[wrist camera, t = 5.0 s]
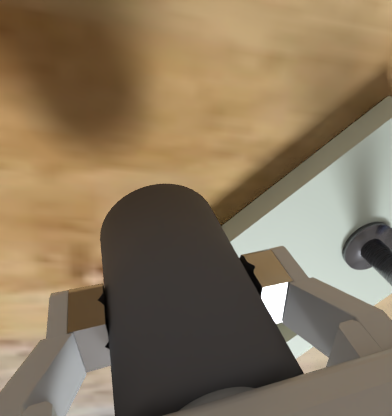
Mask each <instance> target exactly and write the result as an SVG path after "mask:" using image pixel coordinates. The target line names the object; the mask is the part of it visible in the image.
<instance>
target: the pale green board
mask: <svg viewBox="0 0 392 416" xmlns="http://www.w3.org/2000/svg"><path fill="white" fill-rule="evenodd" d="M371 222H383V223H386V224H387V225H388V226H390V227H391V228H392V97H391V96H387V97H386V98H385V99H383V100H382V101H381V102H380V103H378V104H377V105H376V106H374V107H373V108H372V109H371V110H369V111H368V112H367V113H365V114H364V115H363V116H362V117H360V118H359V119H358V120H357V121H355V122H354V123H353V124H351V125H350V126H349V127H348V128H346V129H345V130H344V131H342V132H341V133H340V134H339V135H337V136H336V137H335V138H333V139H332V140H331V141H330V142H328V143H327V144H326V145H325V146H323V147H322V148H321V149H319V150H318V151H317V152H316V153H314V154H313V155H312V156H310V157H309V158H308V159H307V160H305V161H304V162H303V163H301V164H300V165H299V166H298V167H296V168H295V169H294V170H293V171H291V172H290V173H289V174H287V175H286V176H285V177H284V178H282V179H281V180H280V181H278V182H277V183H276V184H275V185H273V186H272V187H271V188H269V189H268V190H267V191H266V192H264V193H263V194H262V195H261V196H259V197H258V198H257V199H255V200H254V201H253V202H252V203H250V204H249V205H248V206H246V207H245V208H244V209H243V210H241V211H240V212H239V213H237V214H236V215H235V216H234V217H232V218H231V219H230V220H228V221H227V222H226V223H225V224H223V225H222V226H221V227H222V229H223V230H224V232H225V234H226V236H227V237H228V239H229V241H230V243H231V245H232V246H233V248H234V250H235V252H236V254H237V255H238V257H239V258H240V255H242V254H247V253H252V252H256V251H261V250H266V249H270V248H274V247H279V246H284V247H286V249H287V250H288V251H289V253H290V254H291V255H292V256H293V258H294V259H295V260H296V262H297V263H298V264H299V266H300V267H301V268H302V269H303V271H304V272H305V273H306V275H307V276H308V277H309V278H311V277H314V278H316V279H318V280H320V281H322V282H324V283H326V284H328V285H331V286H333V287H335V288H337V289H339V290H341V291H343V292H345V293H347V294H349V295H351V296H354V297H356V298H358V299H360V300H362V301H364V302H366V303H368V304H370V305H372V306H374V305H375V304H377V303H378V302H380V301H381V300H383V299H384V298H386V297H387V296H389V295H390V294H391V293H392V286H391V285H390V284H389V283H388V282H387V281H386V280H385V279H384V278H383V277H382V276H381V275H380V274H379V273H378V272H377V271H376V270H375V269H374V268H373V267H371V268H369V269H365V270H355V269H353V268H351V267H350V266H349V265H348V264H347V263H346V262H345V261H344V259H343V257H342V250H343V247H344V244H345V242H346V241H347V239H348V238H349V237H350V235H351V234H352V233H353V232H354V231H356V230H357V229H358V228H360V227H362V226H363V225H366V224H368V223H371ZM277 327H278V328H279V330H280V332H281V334H282V336H283V337H284V339H285V341H286V343H287V344H288V346H289V348H290V350H291V352H292V353H293V355H294V357H295V359H296V358H298V357H299V356H301V355H302V354H303V353H305V352H306V351H308V350H309V349H311V348H312V347H314V346H312V345H311V344H310V343H308V342H307V341H305V340H304V339H303V338H301V337H300V336H299V335H297V334H296V333H295V332H293V331H292V330H290V329H289V328H288V327H286V326H285V325H284V324H282V322H281V323H279V324H278V325H277Z"/></svg>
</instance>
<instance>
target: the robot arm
mask: <svg viewBox="0 0 392 416" xmlns="http://www.w3.org/2000/svg"><path fill="white" fill-rule="evenodd" d="M239 259H240V261H241V262H242V264H243V266H244V268H245V270H246V271H247V273H248V275H249V277H250V278H251V280H252V282H253V284H254V286H255V287H256V289H257V291H258V293H259V295H260V296H261V298H262V300H263V302H264V303H265V305H266V307H267V309H268V311H269V312H270V314H271V316H272V318H273V320H274V321H275V323H276V324H277V323H281V322H282V324H284V325H285V326H286V327H288V328H289V329H290V330H292V331H293V332H295V333H296V334H297V335H299V336H300V337H301V338H303V339H304V340H305V341H307V342H308V343H310V344H311V345H312V346H314V347H315V348H316V349H318V350H319V351H321V352H322V353H323V354H325V355H326V356H327V357H329V359H328V362H327V366H326V368H323V369H319V370H316V371H313V372H309V373H306V374H302V375H299V376H296V377H292V378H289V379H285V380H282V381H279V382H275V383H272V384H269V385H265V386H262V387H258V388H255V389H252V390H248V391H245V392H241V393H238V394H235V395H231V396H228V397H224V398H221V399H218V400H214V401H211V402H207V403H204V404H201V405H197V406H194V407H190V408H187V409H184V410H180V411H177V412H173V413H170V414H167V415H163V416H392V320H391V319H390V318H389V317H388V316H387V314H386V313H385V312H384V311H383V310H381V309H379V308H377V307H374V306H372V305H370V304H368V303H366V302H364V301H362V300H360V299H358V298H356V297H354V296H351V295H349V294H347V293H345V292H343V291H341V290H339V289H337V288H335V287H333V286H331V285H328V284H326V283H324V282H322V281H320V280H318V279H316V278H314V277H311V278H309V277H308V276H307V275H306V273H305V272H304V271H303V269H302V268H301V267H300V266H299V264H298V263H297V262H296V260H295V259H294V258H293V256H292V255H291V254H290V253H289V251H288V250H287V249H286V247H284V246H279V247H274V248H270V249H266V250H261V251H256V252H252V253H247V254H242V255H240V258H239ZM107 366H111V361H110V349H109V333H108V321H107V313H106V298H105V289H104V285H103V284H98V285H92V286H87V287H81V288H76V289H70V290H67V291H62V292H56V293H51V295H50V298H49V310H48V321H47V333H46V339H43V340H40V342H39V343H38V344H37V345H36V347H35V348H34V349H33V351H32V352H31V353H30V354H29V356H28V357H27V358H26V360H25V361H24V362H23V363H22V365H21V366H20V367H19V369H18V370H17V371H16V372H15V374H14V375H13V376H12V377H11V379H10V380H9V381H8V383H7V384H6V385H5V386H4V388H3V389H2V390H1V392H0V416H66V414H67V412H68V410H69V408H70V406H71V404H72V402H73V400H74V398H75V396H76V394H77V392H78V390H79V388H80V386H81V384H82V382H83V380H84V378H85V376H86V372H90V371H93V370H97V369H100V368H104V367H107Z"/></svg>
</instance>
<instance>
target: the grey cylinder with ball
mask: <svg viewBox="0 0 392 416" xmlns="http://www.w3.org/2000/svg"><path fill="white" fill-rule="evenodd" d="M100 241H101V253H102V265H103V277H104V289H105V298H106V313H107V321H108V333H109V349H110V361H111V373H112V385H113V398H114V410H115V416H163V415H167V414H170V413H173V412H177V411H180V410H184V409H187V408H190V407H194V406H197V405H201V404H204V403H207V402H211V401H214V400H218V399H221V398H224V397H228V396H231V395H235V394H238V393H241V392H245V391H248V390H252V389H255V388H258V387H262V386H265V385H269V384H272V383H275V382H279V381H282V380H285V379H289V378H292V377H296V376H299V375H302V374H304V373H303V371H302V369H301V368H300V366H299V364H298V362H297V361H296V359H295V357H294V355H293V353H292V352H291V350H290V348H289V346H288V344H287V343H286V341H285V339H284V337H283V336H282V334H281V332H280V330H279V328H278V327H277V325H276V323H275V321H274V320H273V318H272V316H271V314H270V312H269V311H268V309H267V307H266V305H265V303H264V302H263V300H262V298H261V296H260V295H259V293H258V291H257V289H256V287H255V286H254V284H253V282H252V280H251V278H250V277H249V275H248V273H247V271H246V270H245V268H244V266H243V264H242V262H241V261H240V259H239V257H238V255H237V254H236V252H235V250H234V248H233V246H232V245H231V243H230V241H229V239H228V237H227V236H226V234H225V232H224V230H223V229H222V227H221V225H220V223H219V221H218V220H217V218H216V216H215V214H214V213H213V211H212V209H211V207H210V206H209V204H208V202H207V201H206V200H205V199H204V198H203V197H202V196H201V195H200V194H198V193H197V192H195V191H194V190H192V189H189V188H187V187H184V186H180V185H175V184H156V185H150V186H146V187H143V188H140V189H138V190H135V191H133V192H131V193H129V194H128V195H126V196H125V197H123V198H122V199H121V200H119V201H118V202H117V203H116V204H115V205H114V206H113V207H112V208H111V210H110V211H109V212H108V214H107V216H106V218H105V219H104V222H103V225H102V228H101V235H100Z"/></svg>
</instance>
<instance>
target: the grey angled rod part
mask: <svg viewBox="0 0 392 416" xmlns="http://www.w3.org/2000/svg"><path fill="white" fill-rule="evenodd" d="M342 257H343V259H344V261H345V262H346V263H347V264H348V265H349V266H350V267H351V268H353V269H355V270H365V269H369V268H371V267H373V268H374V269H375V270H376V271H377V272H378V273H379V274H380V275H381V276H382V277H383V278H384V279H385V280H386V281H387V282H388V283H389V284H390V285H391V286H392V228H391V227H390V226H388V225H387V224H386V223H383V222H371V223H368V224H366V225H363V226H362V227H360V228H358V229H357V230H356V231H354V232H353V233H352V234H351V235H350V237H349V238H348V239H347V241H346V242H345V244H344V247H343V250H342Z"/></svg>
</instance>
